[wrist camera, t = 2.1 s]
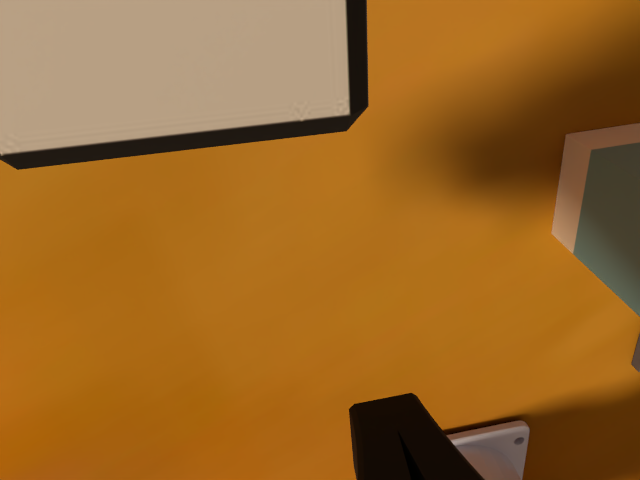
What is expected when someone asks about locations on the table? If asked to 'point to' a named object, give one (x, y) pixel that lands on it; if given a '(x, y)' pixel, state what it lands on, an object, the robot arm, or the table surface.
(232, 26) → the puzzle cube
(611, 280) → the teal block
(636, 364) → the charcoal mat
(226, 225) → the table surface
